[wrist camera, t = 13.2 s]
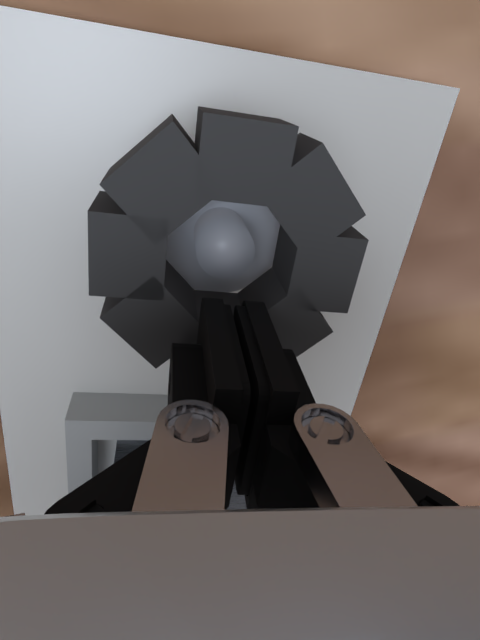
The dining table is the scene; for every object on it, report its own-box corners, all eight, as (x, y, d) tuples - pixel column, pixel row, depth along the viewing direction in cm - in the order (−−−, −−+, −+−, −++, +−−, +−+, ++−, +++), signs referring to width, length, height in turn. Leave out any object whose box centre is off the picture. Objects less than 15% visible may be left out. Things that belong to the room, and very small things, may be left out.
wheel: (309, 346, 15) (327, 382, 13) (99, 336, 14) (89, 374, 12) (363, 131, 12) (397, 141, 10) (99, 90, 11) (85, 94, 9)
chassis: (303, 522, 27) (333, 623, 22) (25, 530, 24) (-13, 648, 19) (441, 87, 16) (563, 93, 11) (-39, 1, 13) (-168, -44, 8)
